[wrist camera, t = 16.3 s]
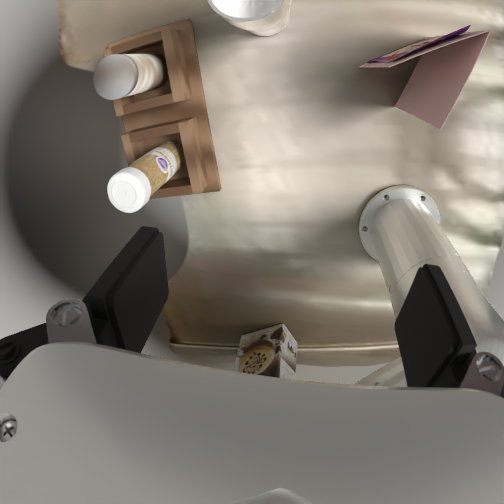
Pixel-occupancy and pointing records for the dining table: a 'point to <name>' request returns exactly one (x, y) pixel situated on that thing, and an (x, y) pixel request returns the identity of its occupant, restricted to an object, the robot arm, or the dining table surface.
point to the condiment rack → (161, 102)
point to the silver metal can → (254, 14)
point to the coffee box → (268, 353)
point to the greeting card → (436, 72)
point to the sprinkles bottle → (145, 176)
